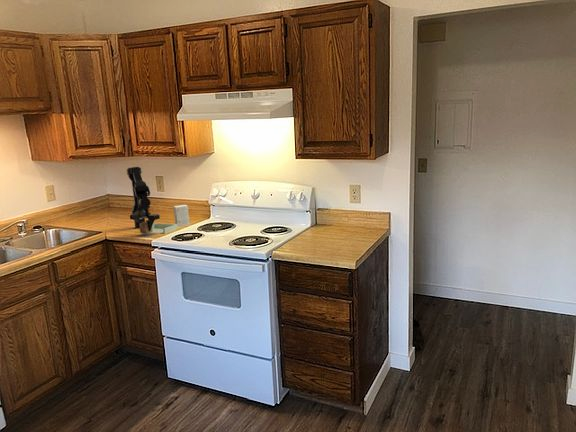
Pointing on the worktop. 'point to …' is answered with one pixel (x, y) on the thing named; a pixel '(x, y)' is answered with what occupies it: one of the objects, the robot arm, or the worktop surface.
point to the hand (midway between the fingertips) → (146, 230)
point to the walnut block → (144, 228)
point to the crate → (163, 227)
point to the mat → (147, 234)
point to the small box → (181, 215)
